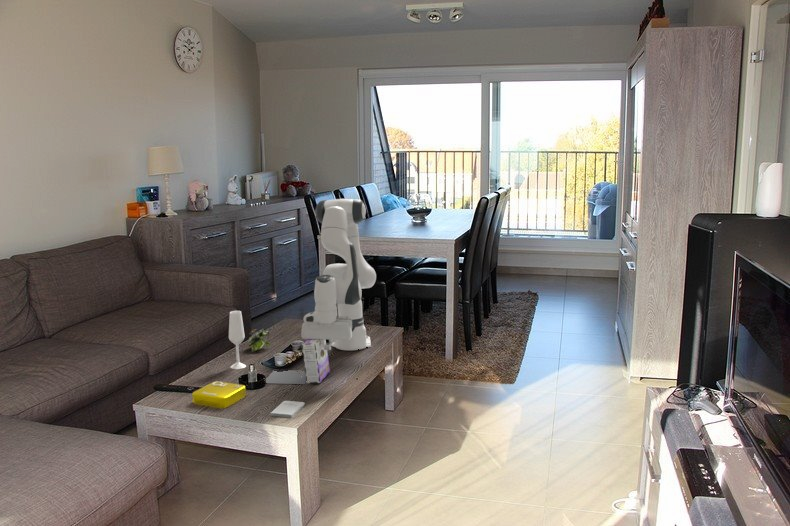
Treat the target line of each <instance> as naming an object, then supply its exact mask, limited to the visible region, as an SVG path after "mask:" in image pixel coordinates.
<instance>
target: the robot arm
mask: <svg viewBox="0 0 790 526" xmlns="http://www.w3.org/2000/svg"><path fill="white" fill-rule="evenodd" d="M366 213H367V209H366V205H365V202H364V201H363V200H362V199H359V198H354V199H351V198H334V199H328V200H327V199H324V200H319V202H318V203H317V204H316V206H315V217H316V220H317V222H319V223H320V224H321V229H320V241H321V242H320V243H321V245H322V246H323V249H325V250H327V251H328V252H329V253H331V254H334V255H337V256H339V257H341V258H342V259H343V260H344V261H345V263H340V262H338V263H331V264H328V265H326V267H325V268H324V270H323V272H322V275H319V276H317V277H316V278H315V280H314V281H315V282H314V289H313V297H314V301H315V306H314V311H312V312H308V313H307V314H305V315H304V316H303V323H302V325H301V331H300V332H301V333H300V337H301V338H302V340H307V339H320V342H321V344H322V345H323V350H327V351H331V350H332V347H334V348H336V349H337V350H342V351H358V349H359V350H363V349H367V348H366V347H368V348H371V347H372V343H371V337H370V336H368V335H367V329H366V327H365V324H364V316H363V302H362V291H363V290H364V289H370V288H372V287H373V286H374V285H375V283H376V281H377V273H376V271H375V269H374V267H372V266H371V265H370V264H369V263H368V261H366V259H365V258H364V256H363V253H362V251H361V245H360V233H359V232H360V231H359V224H360V223H362V222H363V221H364V219H365V217H366ZM362 289H363V290H362ZM325 339H326V340H328V342H329V344H327V343H326V344H325V342H324V341H325Z"/></svg>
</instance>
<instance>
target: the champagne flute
mask: <svg viewBox="0 0 790 526" xmlns="http://www.w3.org/2000/svg"><path fill="white" fill-rule="evenodd" d="M228 322H229V323H228V339H229V341H230V342H231V343H233V344H234V345H235V355H236V362H235V363H233V364H232V365H231V366H230V367H229V368H230V369H231V370H241V369H244V368H246V367H247V365H246V364H244V363H242V362H241V361H240V348H239V345H241V344H242V342H243V341H244V340H245V337H246V336H245V329H244V322H243V315H242V310H232V311H230V312H229V321H228Z"/></svg>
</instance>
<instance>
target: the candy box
mask: <svg viewBox="0 0 790 526" xmlns="http://www.w3.org/2000/svg"><path fill="white" fill-rule="evenodd" d="M324 342H325V344H326V345H327V341H326V339H325V341H324ZM301 349H302V350H301V351H302V357H303V365H304V371H305V372H306V380H307V382H306V384H320V383H322V382H323V380H324V379H325V378H326V377H327V375H328V374H330V373H331V368H330V360H329V354H328V350H323V345H322V344H321V342H320V339H305V341H304V342H303V343H302V344H301Z"/></svg>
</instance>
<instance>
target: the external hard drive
mask: <svg viewBox="0 0 790 526" xmlns="http://www.w3.org/2000/svg"><path fill="white" fill-rule="evenodd" d="M304 406H305V402H304V401H296V400H295V401H293V400H292V401H291V400H283V401H282V402H281V403H280V404H279V405H278V406H277V407H275V408H274V409H273V410H272V411H271V412H270V413H269V416H270V417H281V418H290V419H291V418H293V417H294V416H295V415H296V414H297V413H298V412H299V411H300V410H302V408H304Z"/></svg>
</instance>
